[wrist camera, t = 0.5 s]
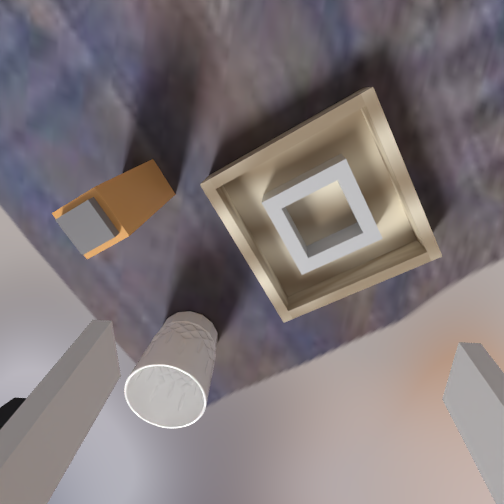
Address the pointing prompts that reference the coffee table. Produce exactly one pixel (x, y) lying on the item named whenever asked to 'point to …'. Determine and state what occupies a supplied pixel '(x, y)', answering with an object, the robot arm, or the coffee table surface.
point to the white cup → (174, 372)
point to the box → (325, 206)
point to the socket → (336, 242)
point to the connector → (114, 208)
